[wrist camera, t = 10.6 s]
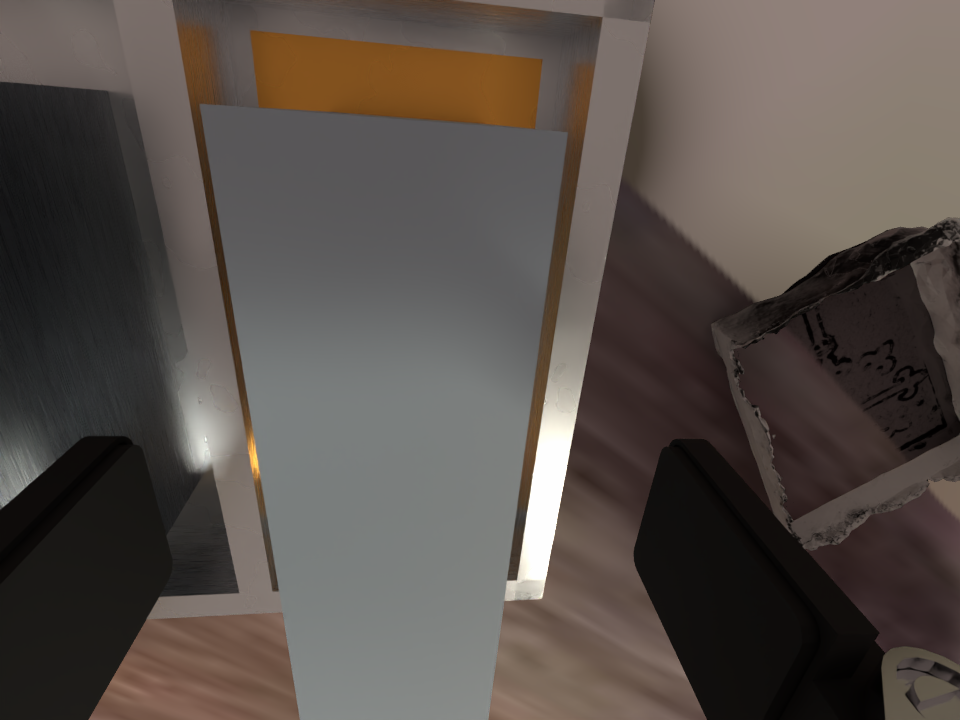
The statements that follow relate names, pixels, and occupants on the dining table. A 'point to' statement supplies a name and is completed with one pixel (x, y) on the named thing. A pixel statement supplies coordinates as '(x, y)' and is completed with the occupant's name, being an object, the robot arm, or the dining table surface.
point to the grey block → (387, 385)
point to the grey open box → (198, 245)
